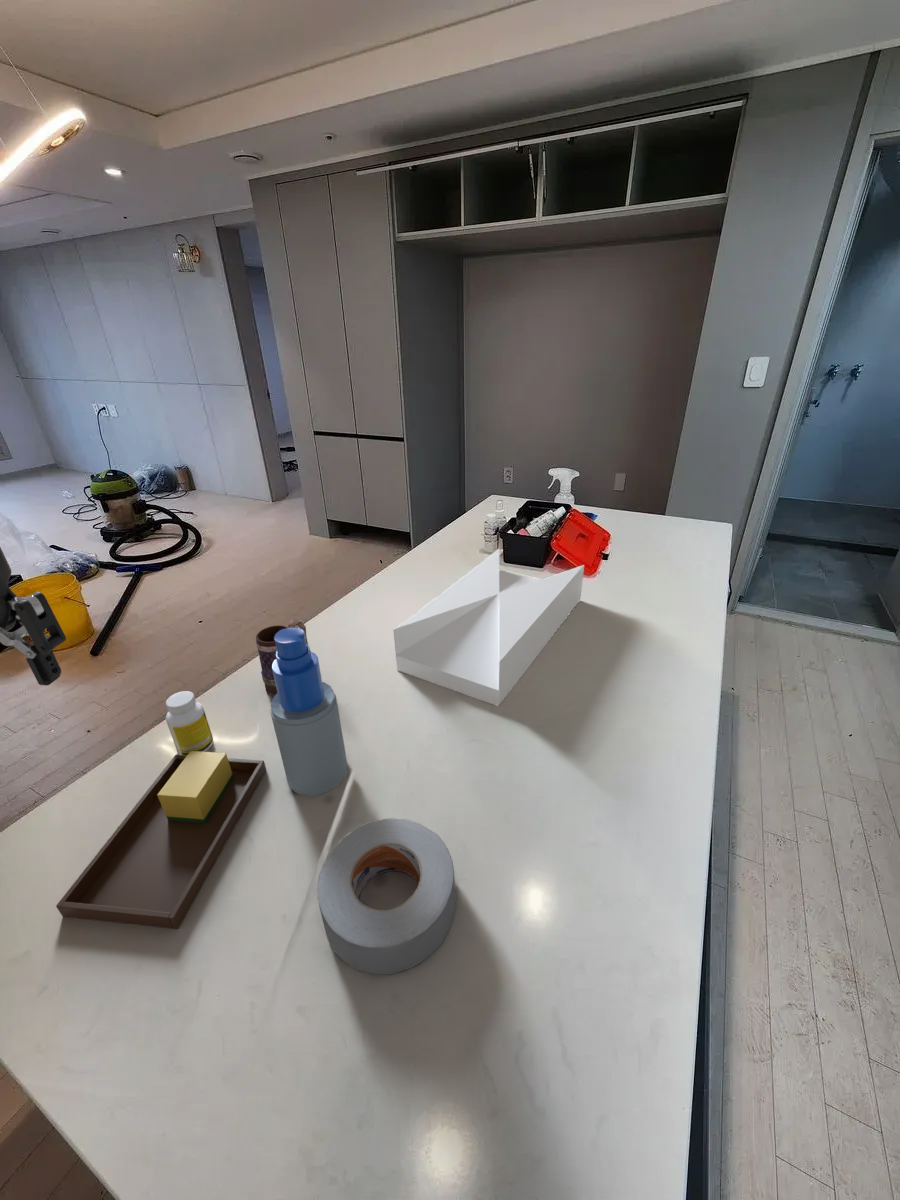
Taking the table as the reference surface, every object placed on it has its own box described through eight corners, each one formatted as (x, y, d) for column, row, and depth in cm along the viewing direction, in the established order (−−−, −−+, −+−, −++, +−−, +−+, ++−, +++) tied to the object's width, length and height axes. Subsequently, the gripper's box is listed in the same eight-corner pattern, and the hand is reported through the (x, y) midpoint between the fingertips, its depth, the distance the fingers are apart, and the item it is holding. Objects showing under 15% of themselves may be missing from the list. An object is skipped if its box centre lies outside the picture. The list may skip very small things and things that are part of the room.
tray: (64, 919, 58) (55, 906, 57) (180, 767, 79) (175, 754, 78) (179, 932, 57) (173, 918, 56) (267, 773, 77) (264, 760, 76)
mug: (280, 702, 92) (267, 647, 86) (257, 688, 96) (243, 634, 90) (324, 675, 99) (315, 622, 93) (301, 662, 103) (291, 611, 97)
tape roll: (298, 902, 60) (290, 875, 57) (398, 822, 69) (396, 796, 67) (378, 1011, 50) (373, 984, 47) (482, 901, 59) (483, 874, 57)
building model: (498, 706, 90) (499, 661, 85) (397, 670, 100) (393, 628, 95) (580, 600, 123) (584, 564, 119) (498, 581, 134) (499, 547, 129)
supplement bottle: (221, 742, 83) (206, 694, 79) (191, 763, 79) (173, 715, 75) (200, 730, 86) (185, 684, 81) (170, 750, 82) (152, 703, 77)
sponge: (167, 820, 69) (156, 794, 67) (199, 775, 76) (190, 750, 74) (205, 823, 69) (195, 797, 66) (233, 777, 76) (226, 752, 73)
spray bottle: (274, 783, 75) (237, 641, 64) (317, 745, 82) (290, 610, 70) (319, 808, 71) (288, 661, 60) (360, 766, 78) (339, 626, 66)
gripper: (43, 529, 51) (99, 662, 58) (-83, 527, 52) (-11, 657, 60) (-27, 559, 44) (47, 705, 52) (-168, 555, 46) (-76, 697, 53)
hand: (16, 679), depth 56 cm, fingers open, 8 cm apart
